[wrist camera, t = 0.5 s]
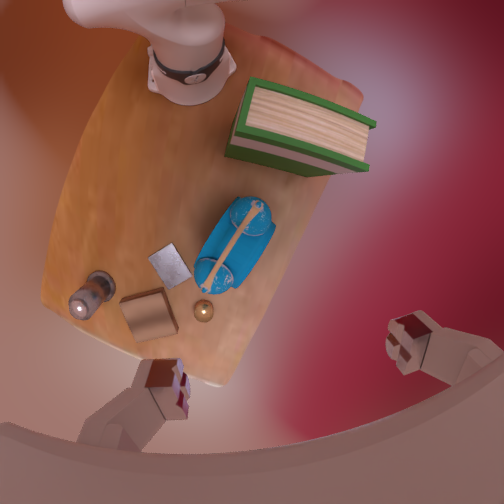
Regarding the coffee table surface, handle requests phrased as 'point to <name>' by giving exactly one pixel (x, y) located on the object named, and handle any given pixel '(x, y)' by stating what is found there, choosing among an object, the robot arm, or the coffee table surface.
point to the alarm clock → (234, 245)
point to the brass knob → (203, 311)
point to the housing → (92, 295)
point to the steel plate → (170, 266)
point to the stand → (149, 315)
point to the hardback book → (297, 132)
